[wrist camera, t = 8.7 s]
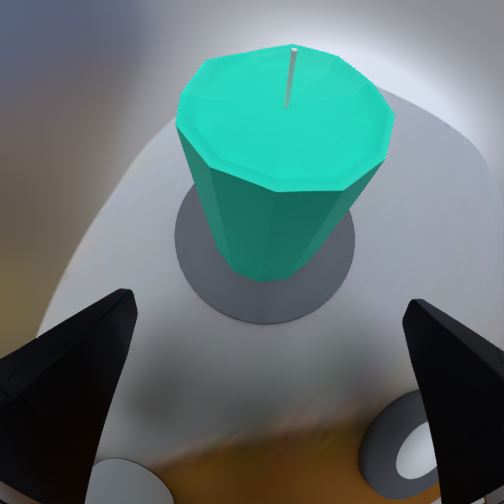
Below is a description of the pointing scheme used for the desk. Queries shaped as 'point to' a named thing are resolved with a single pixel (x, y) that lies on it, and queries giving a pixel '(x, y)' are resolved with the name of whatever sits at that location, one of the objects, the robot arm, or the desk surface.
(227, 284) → the slate coaster
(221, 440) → the desk surface
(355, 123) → the candle
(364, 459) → the dark grey washer
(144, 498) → the mug
